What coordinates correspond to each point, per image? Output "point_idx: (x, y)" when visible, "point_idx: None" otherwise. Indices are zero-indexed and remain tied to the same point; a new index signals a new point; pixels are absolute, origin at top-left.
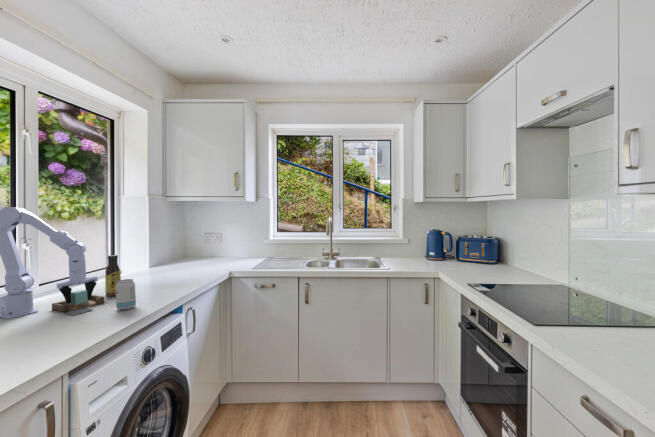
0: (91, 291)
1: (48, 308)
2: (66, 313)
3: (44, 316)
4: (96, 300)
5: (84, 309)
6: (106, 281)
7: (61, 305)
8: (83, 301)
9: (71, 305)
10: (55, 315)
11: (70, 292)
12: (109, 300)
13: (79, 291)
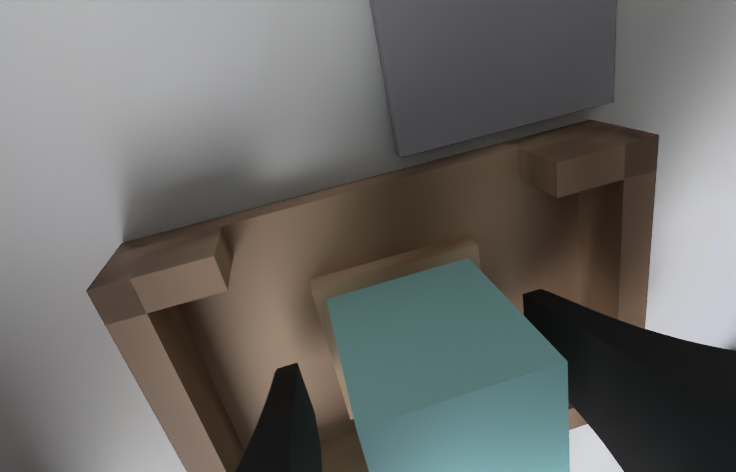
0: (265, 446)
1: (572, 442)
2: (612, 40)
3: (721, 171)
4: (221, 252)
5: (427, 22)
6: None
7: (646, 229)
8: (383, 294)
9: (570, 153)
10: (671, 108)
11: (665, 372)
12: (39, 325)
13: (464, 462)
